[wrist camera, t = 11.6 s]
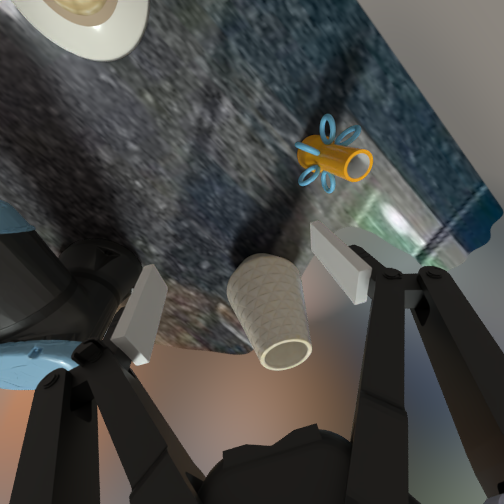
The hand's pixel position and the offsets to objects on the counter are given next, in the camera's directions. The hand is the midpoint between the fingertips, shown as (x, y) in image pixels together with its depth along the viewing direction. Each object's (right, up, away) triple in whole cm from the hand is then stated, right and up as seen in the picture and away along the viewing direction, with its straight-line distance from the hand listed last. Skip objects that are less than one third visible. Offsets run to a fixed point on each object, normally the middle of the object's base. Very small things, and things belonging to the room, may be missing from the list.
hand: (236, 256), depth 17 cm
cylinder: (+13, +20, +22) cm, 32 cm away
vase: (+3, -4, +36) cm, 36 cm away
